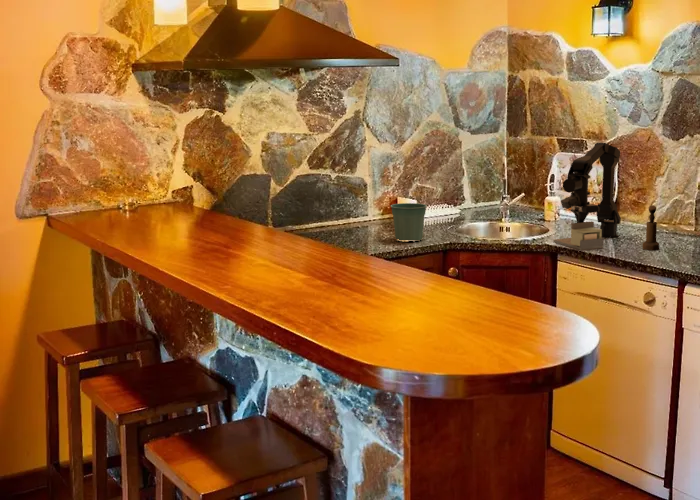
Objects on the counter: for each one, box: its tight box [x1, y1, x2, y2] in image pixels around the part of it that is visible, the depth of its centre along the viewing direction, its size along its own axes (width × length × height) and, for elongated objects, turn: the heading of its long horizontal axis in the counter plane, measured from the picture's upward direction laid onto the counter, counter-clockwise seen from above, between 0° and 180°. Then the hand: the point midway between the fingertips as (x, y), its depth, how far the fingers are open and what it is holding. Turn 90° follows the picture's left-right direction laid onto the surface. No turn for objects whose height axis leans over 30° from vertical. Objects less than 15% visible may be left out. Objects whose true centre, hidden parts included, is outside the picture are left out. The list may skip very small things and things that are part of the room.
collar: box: [582, 232, 597, 240], centre depth 342 cm, size 6×6×5 cm
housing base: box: [553, 237, 605, 251], centre depth 348 cm, size 11×20×4 cm, turn 19°
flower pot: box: [390, 202, 428, 240], centre depth 368 cm, size 16×16×16 cm
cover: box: [570, 220, 603, 246], centre depth 341 cm, size 10×7×9 cm
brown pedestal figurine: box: [642, 205, 660, 251], centre depth 334 cm, size 7×6×18 cm
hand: (579, 226), depth 345 cm, fingers closed
